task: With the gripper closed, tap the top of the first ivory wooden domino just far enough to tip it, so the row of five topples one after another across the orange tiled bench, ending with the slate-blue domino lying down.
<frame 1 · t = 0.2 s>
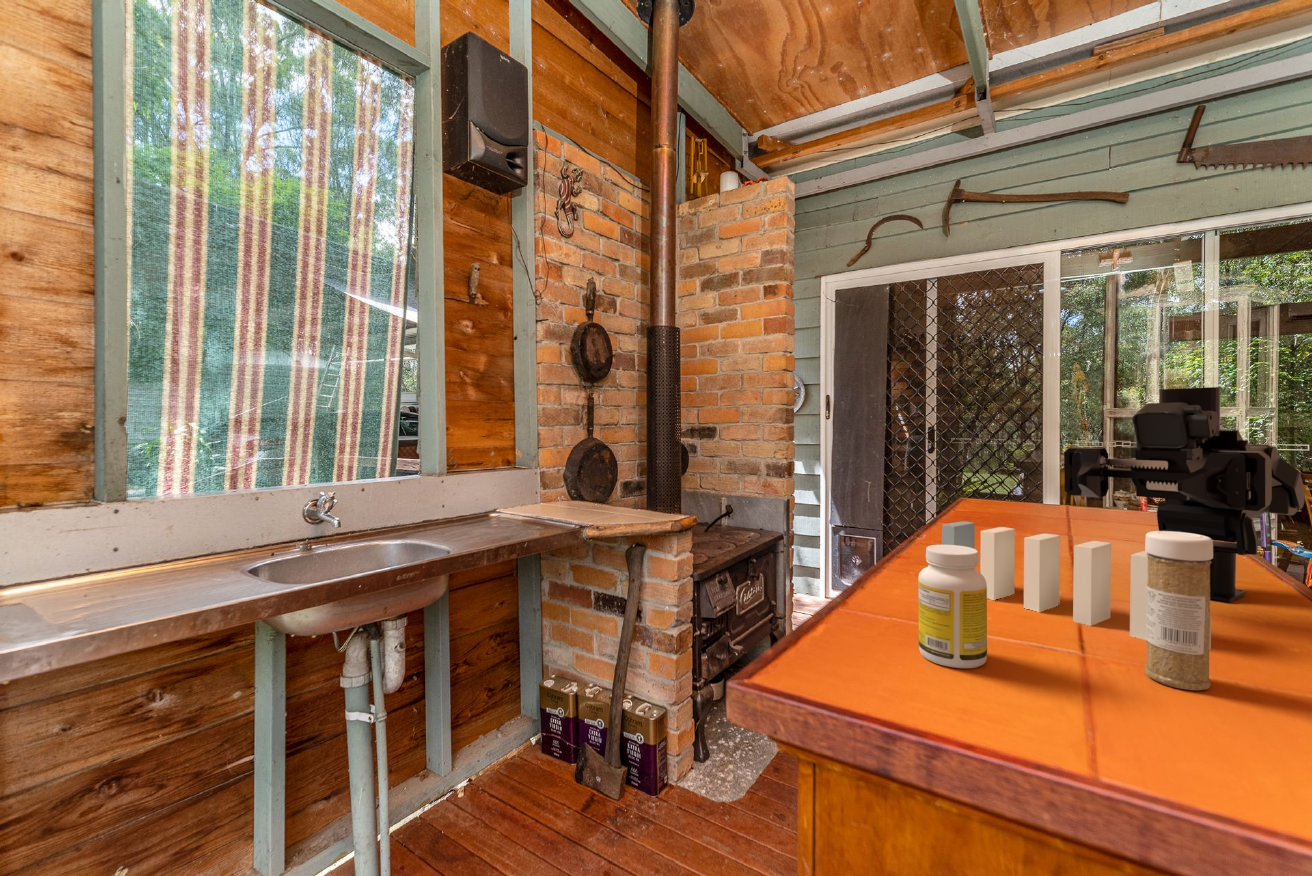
hand: (1126, 482, 65), 17 cm above the table, tool horizontal, fingers open, 9 cm apart
domino 4: (997, 596, 78), on the table
domino 5: (958, 586, 83), on the table
pill bottle: (951, 659, 59), on the table
domino 2: (1091, 619, 69), on the table
domino 1: (1149, 634, 64), on the table
domino 3: (1041, 607, 74), on the table
spice jar: (1176, 683, 53), on the table
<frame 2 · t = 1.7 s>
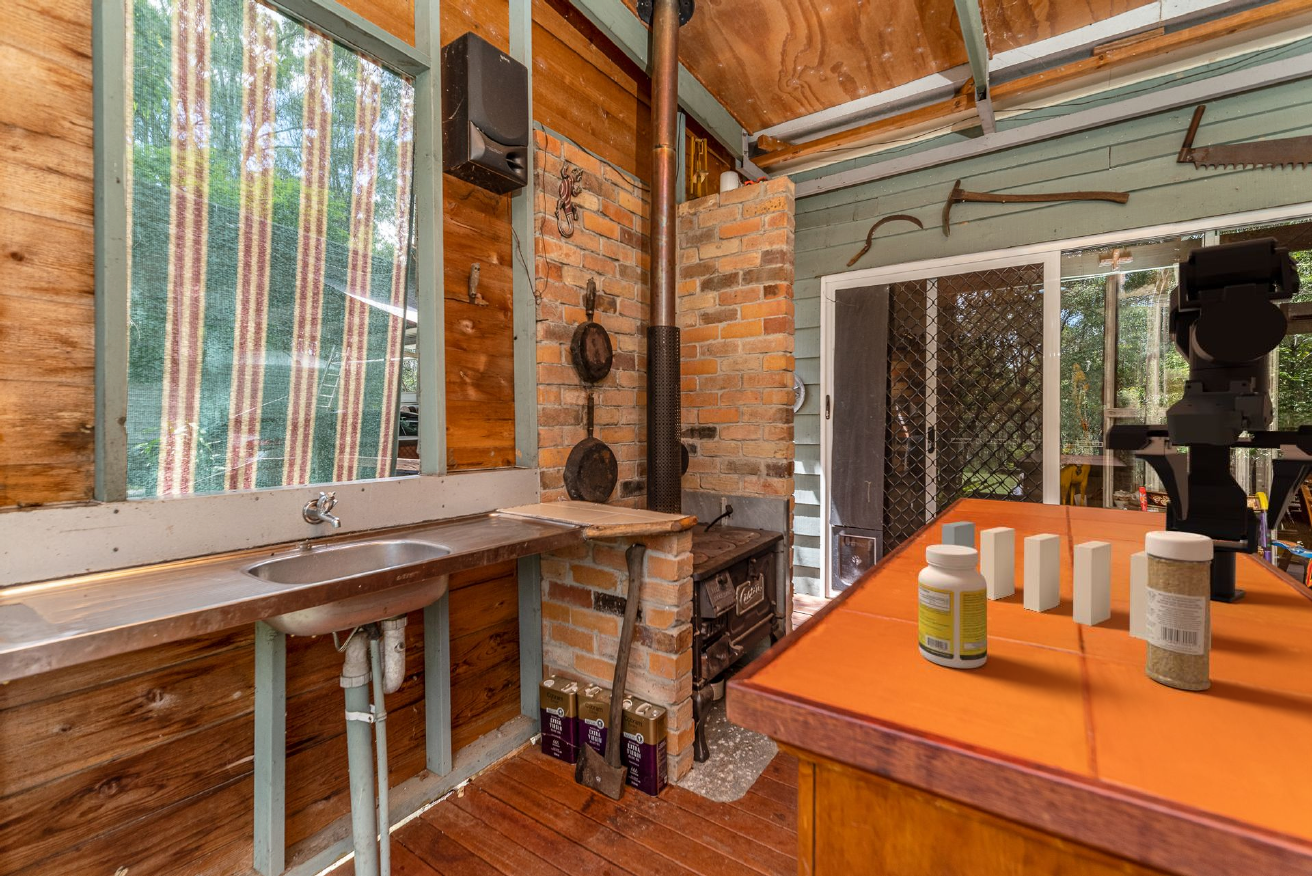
hand: (1224, 524, 59), 13 cm above the table, tool pointing down, fingers open, 6 cm apart
nothing on the table moved.
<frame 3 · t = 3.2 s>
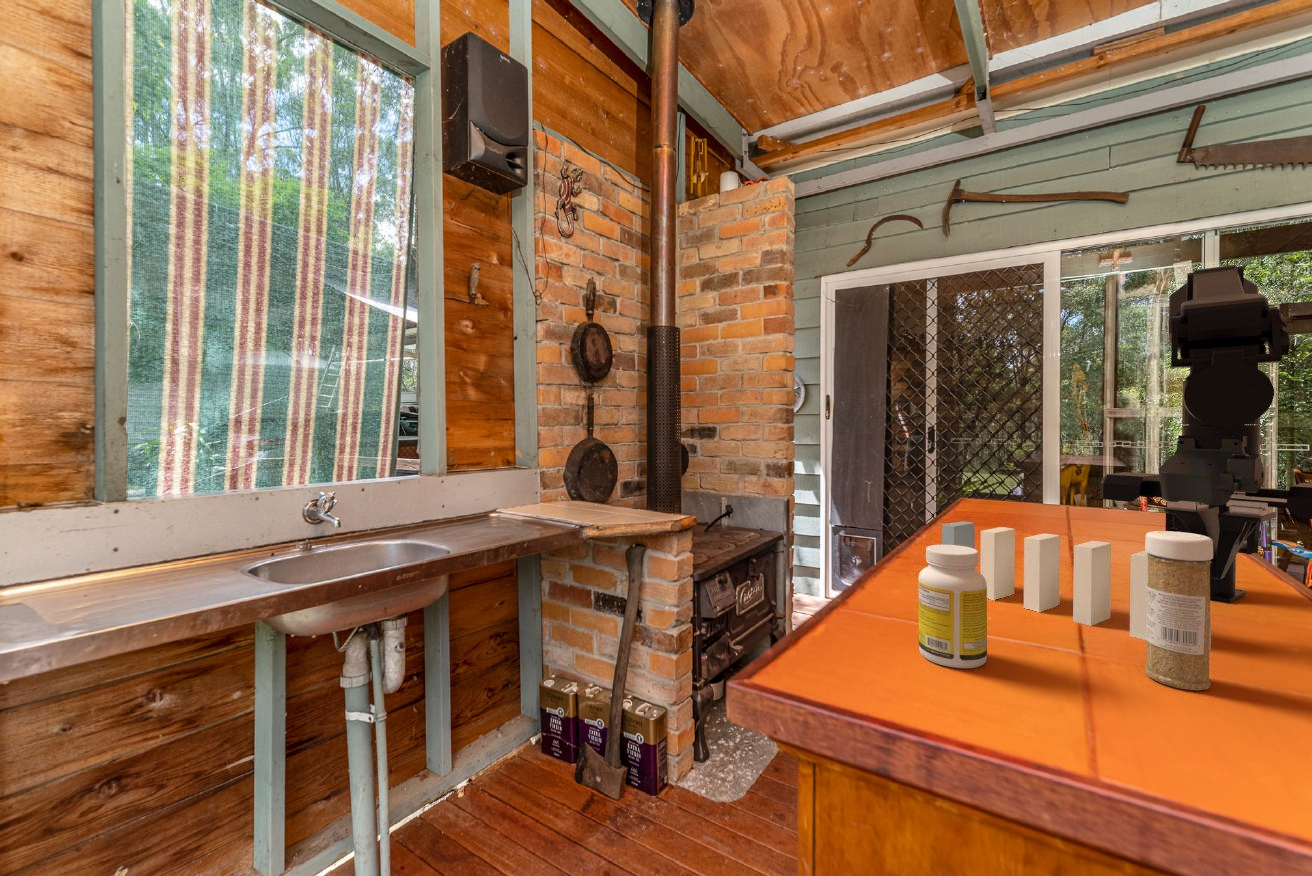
hand: (1216, 577, 59), 7 cm above the table, tool pointing down, fingers closed
nothing on the table moved.
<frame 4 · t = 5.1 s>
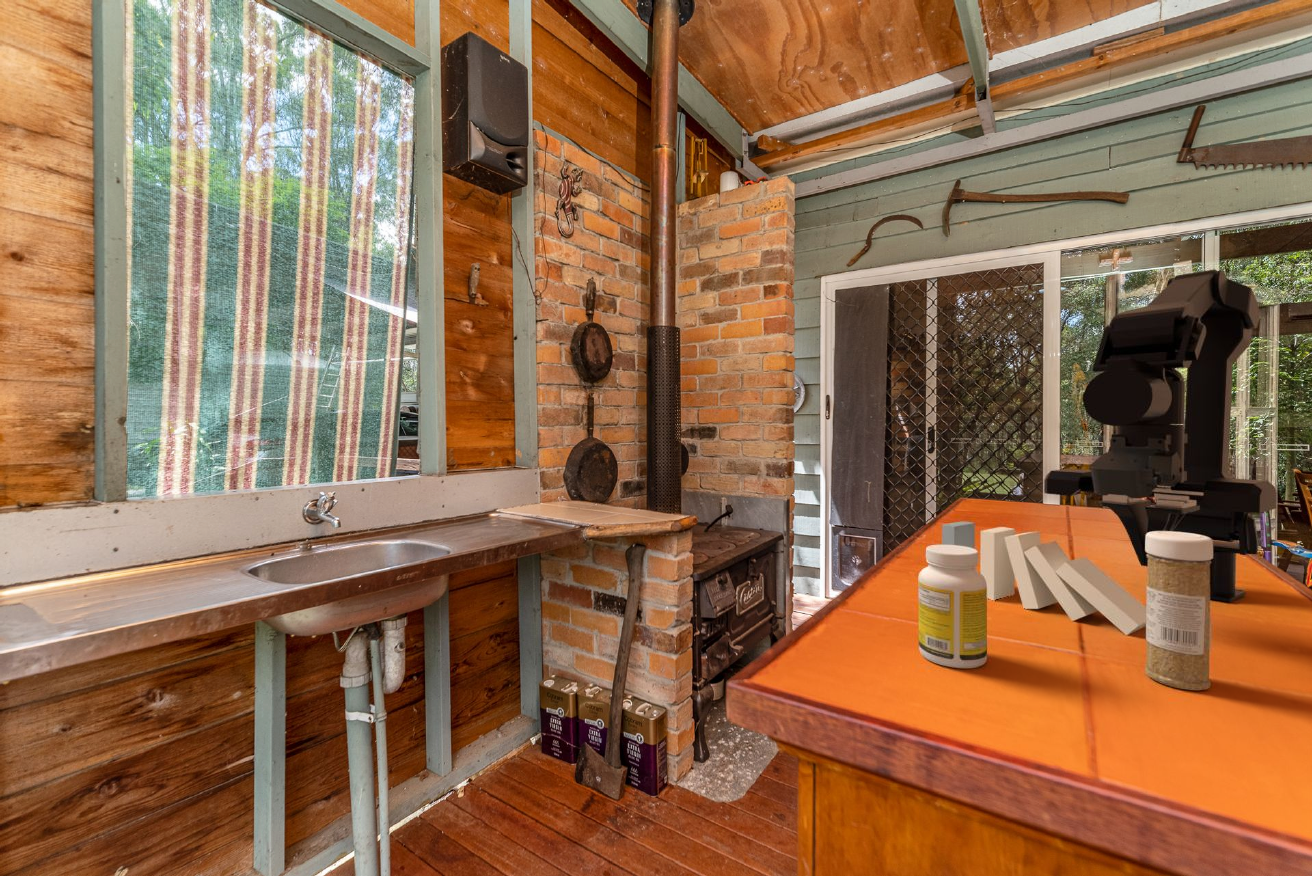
hand: (1147, 565, 64), 8 cm above the table, tool pointing down, fingers closed
domino 2: (1089, 614, 69), point 1 cm above the table, tilted 38°
domino 1: (1142, 625, 65), point 1 cm above the table, tilted 53°
domino 3: (1041, 605, 74), on the table, tilted 16°
everything else where it was.
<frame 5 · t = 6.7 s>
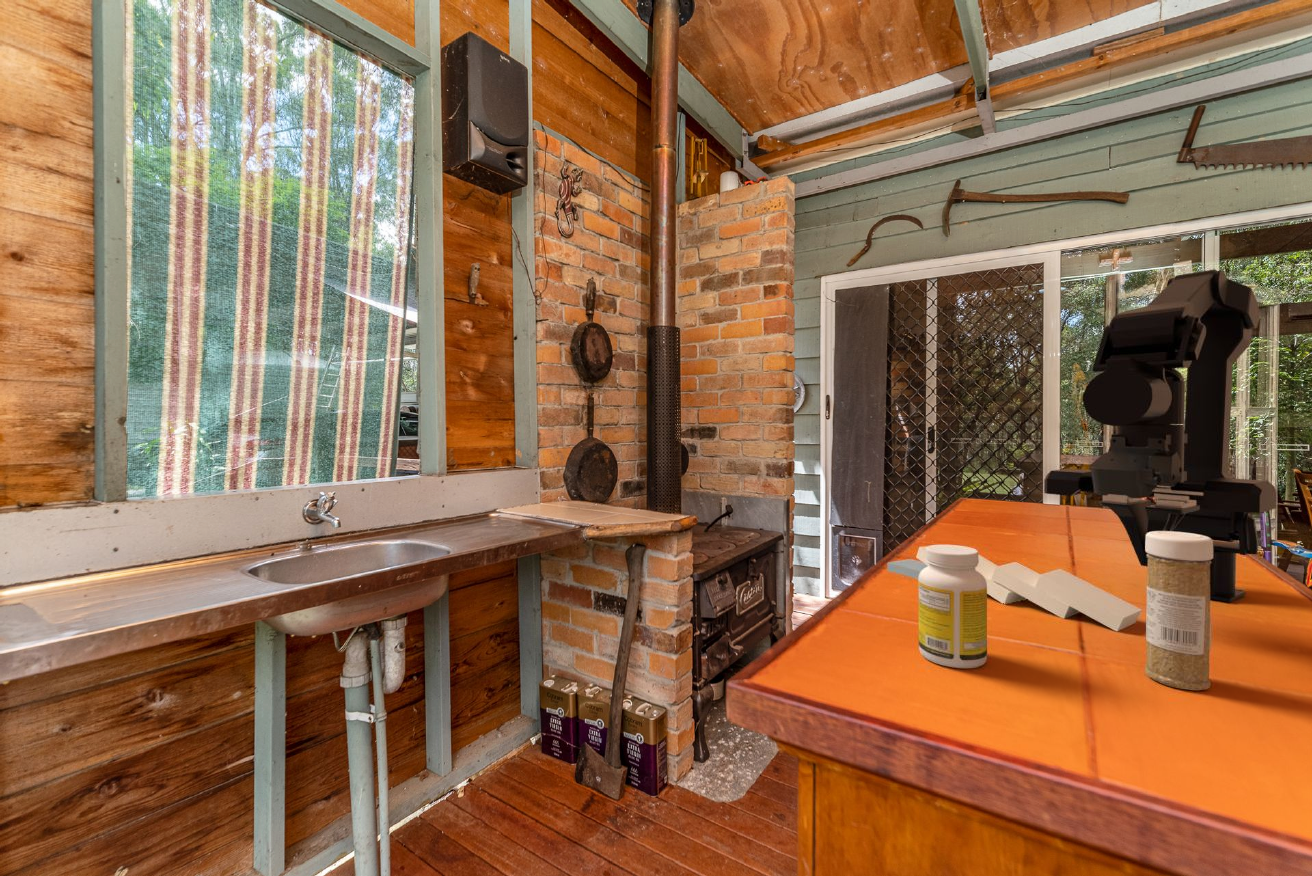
hand: (1147, 565, 64), 8 cm above the table, tool pointing down, fingers closed
domino 4: (978, 584, 81), point 1 cm above the table, tilted 71°, touching domino 3
domino 5: (948, 580, 85), on the table, tilted 90°
domino 2: (1076, 608, 71), point 1 cm above the table, tilted 72°, touching domino 1, domino 3
domino 1: (1129, 620, 66), point 1 cm above the table, tilted 71°, touching domino 2
domino 3: (1019, 595, 76), point 1 cm above the table, tilted 71°, touching domino 2, domino 4
everything else where it was.
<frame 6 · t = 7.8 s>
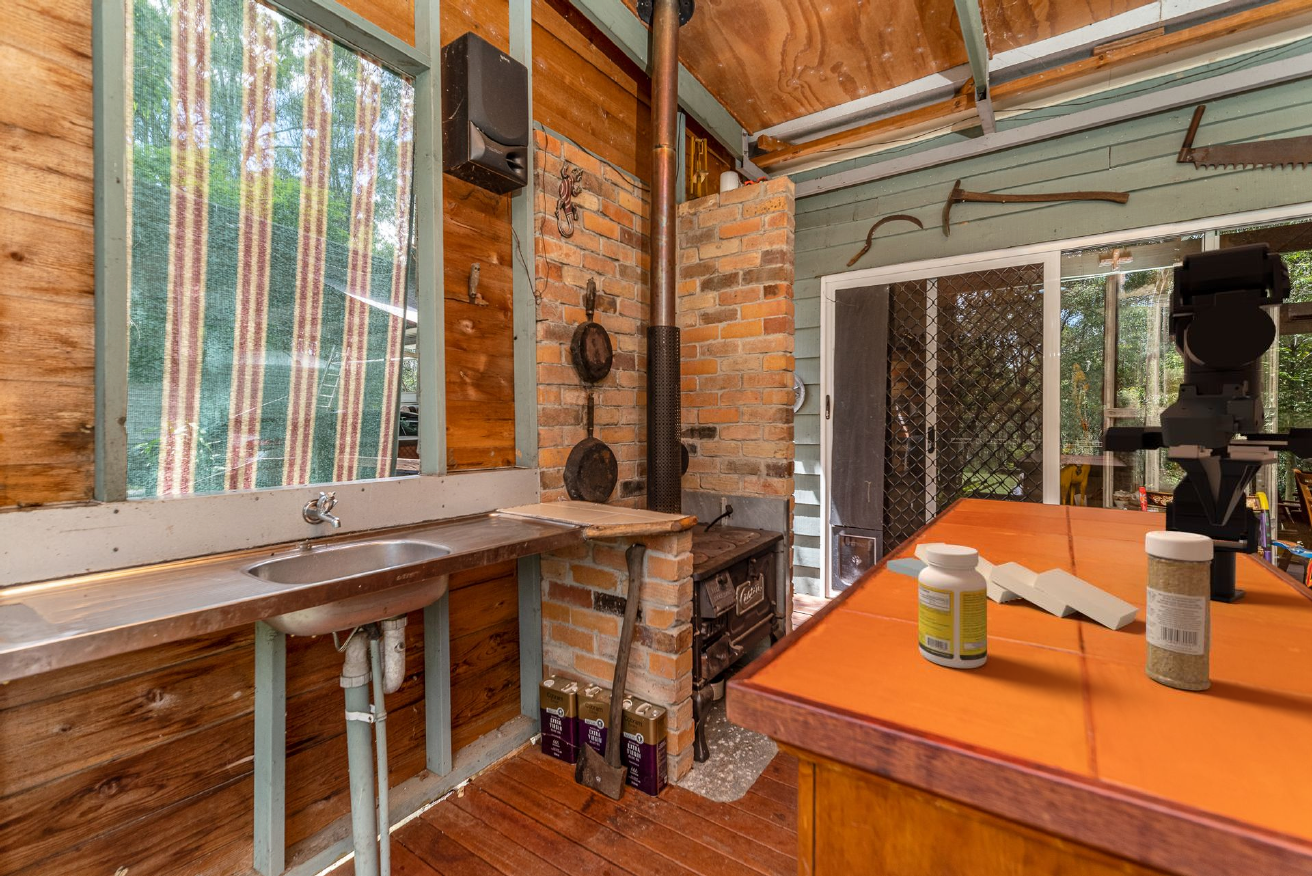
hand: (1218, 524, 60), 13 cm above the table, tool pointing down, fingers closed
domino 4: (974, 582, 81), point 1 cm above the table, tilted 70°, touching domino 3, domino 5
domino 5: (946, 578, 85), point 1 cm above the table, tilted 90°, touching domino 4
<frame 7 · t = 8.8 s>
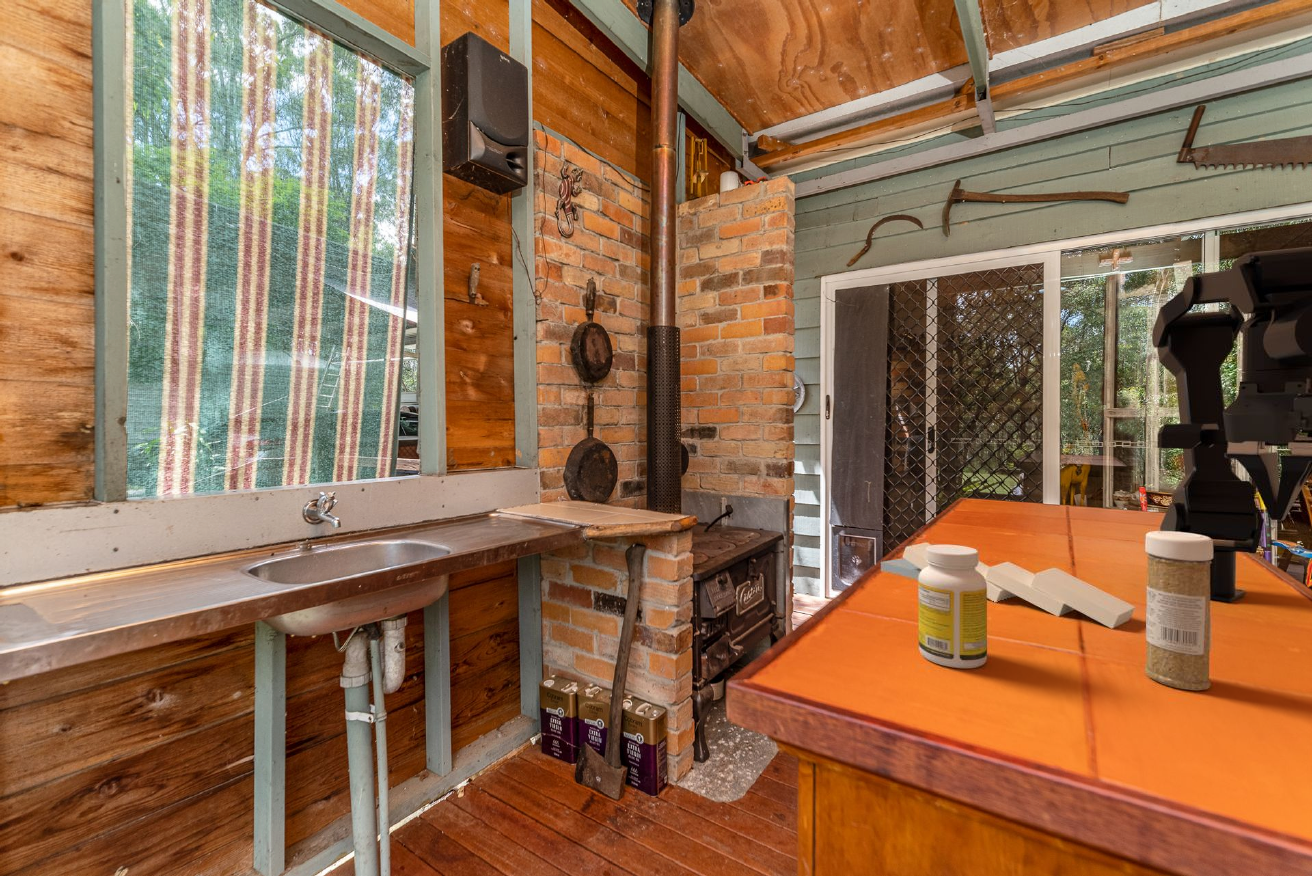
hand: (1277, 519, 61), 13 cm above the table, tool pointing down, fingers closed
domino 4: (968, 583, 82), point 1 cm above the table, tilted 70°
domino 5: (942, 578, 85), point 1 cm above the table, tilted 90°
domino 2: (1069, 606, 71), point 1 cm above the table, tilted 73°, touching domino 1
domino 1: (1124, 617, 67), point 1 cm above the table, tilted 71°, touching domino 2
domino 3: (1008, 593, 77), point 1 cm above the table, tilted 70°
everything else where it was.
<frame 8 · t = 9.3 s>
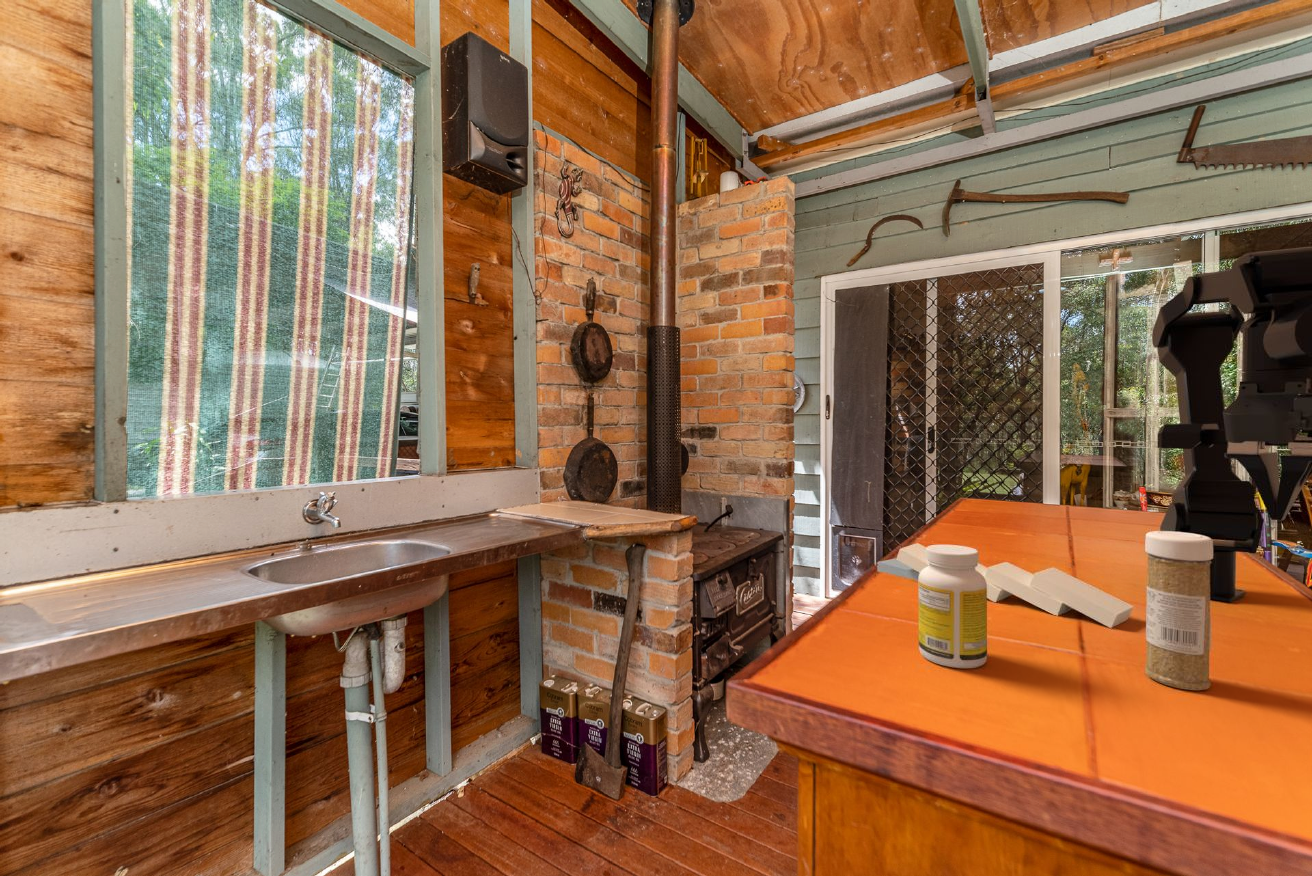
hand: (1277, 519, 61), 13 cm above the table, tool pointing down, fingers closed
domino 4: (964, 582, 82), point 1 cm above the table, tilted 70°, touching domino 3, domino 5
domino 5: (939, 578, 85), on the table, tilted 90°, touching domino 4
domino 2: (1068, 605, 72), point 1 cm above the table, tilted 73°, touching domino 1, domino 3
domino 1: (1122, 617, 67), point 1 cm above the table, tilted 71°, touching domino 2
domino 3: (1006, 592, 77), point 1 cm above the table, tilted 70°, touching domino 2, domino 4
everything else where it was.
at the end: domino 5 tilted 90°; domino 3 tilted 71°; the gripper is holding nothing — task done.
